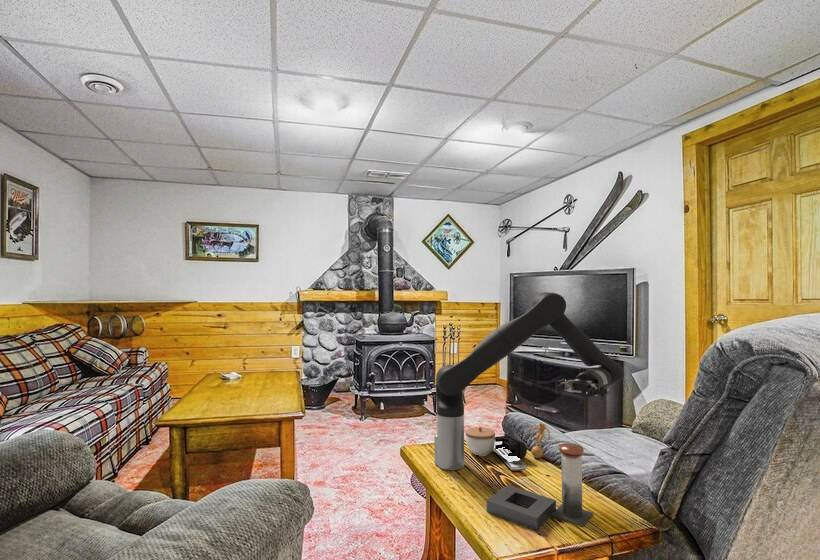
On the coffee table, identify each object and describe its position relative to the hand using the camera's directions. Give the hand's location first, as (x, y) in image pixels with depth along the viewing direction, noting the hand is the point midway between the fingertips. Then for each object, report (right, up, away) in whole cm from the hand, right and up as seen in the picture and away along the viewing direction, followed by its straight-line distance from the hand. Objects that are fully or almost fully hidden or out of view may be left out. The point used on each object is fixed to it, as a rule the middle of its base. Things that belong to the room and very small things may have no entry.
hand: (573, 391), depth 123 cm
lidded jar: (-21, -31, +33) cm, 50 cm away
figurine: (-1, -31, +29) cm, 42 cm away
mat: (-4, -30, -10) cm, 32 cm away
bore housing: (-17, -30, -9) cm, 35 cm away
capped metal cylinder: (-4, -29, -10) cm, 31 cm away
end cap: (-11, -31, +29) cm, 44 cm away
